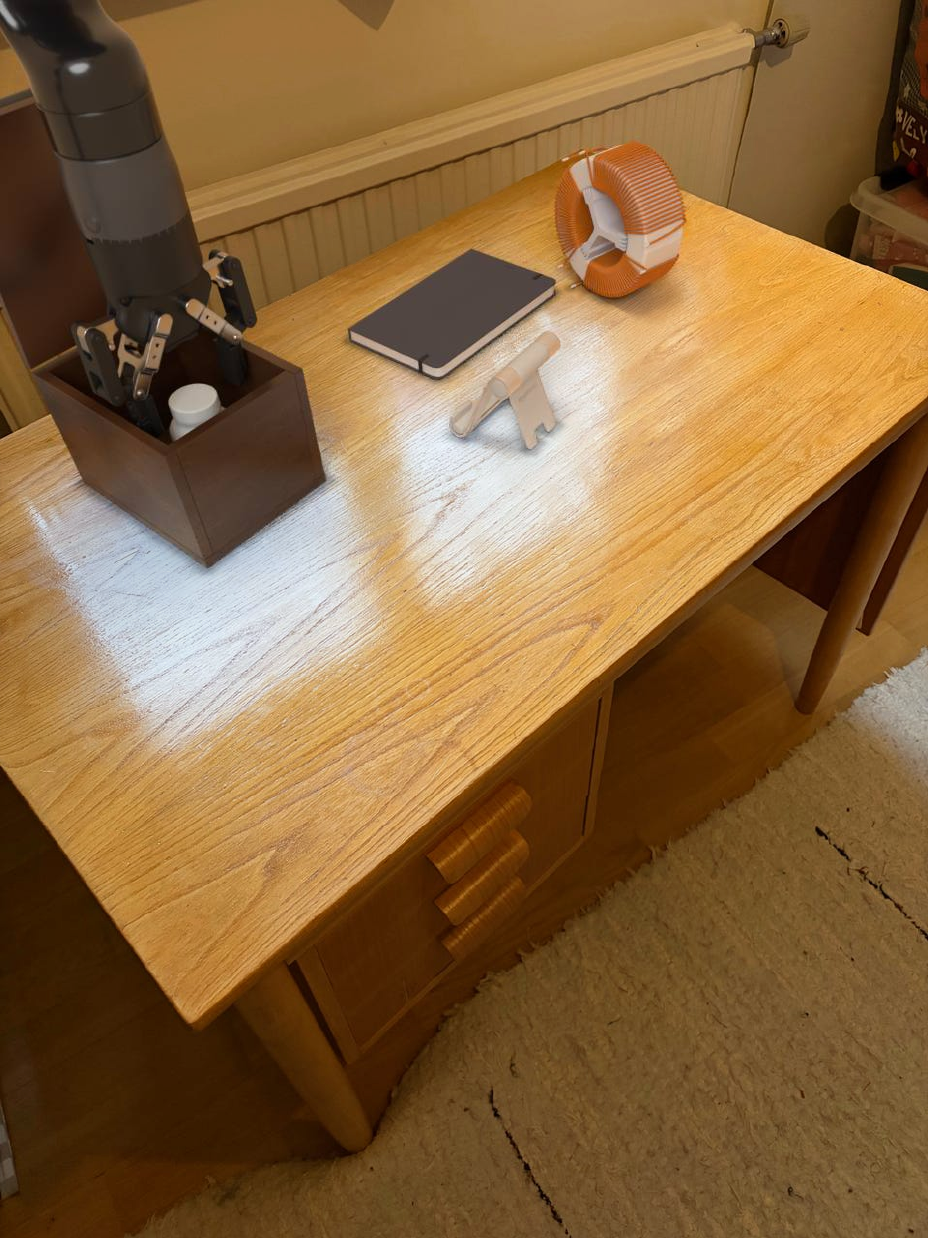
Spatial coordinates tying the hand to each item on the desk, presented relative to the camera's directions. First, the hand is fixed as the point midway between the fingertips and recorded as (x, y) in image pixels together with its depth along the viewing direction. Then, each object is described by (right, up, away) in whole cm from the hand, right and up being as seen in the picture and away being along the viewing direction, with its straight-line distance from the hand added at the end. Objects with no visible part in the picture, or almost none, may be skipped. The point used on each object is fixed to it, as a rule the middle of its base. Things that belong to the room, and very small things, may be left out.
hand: (195, 406), depth 72 cm
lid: (-8, +12, -5) cm, 15 cm away
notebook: (+21, +16, +26) cm, 37 cm away
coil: (+39, +20, +28) cm, 52 cm away
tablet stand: (+26, +1, +13) cm, 29 cm away
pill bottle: (0, -6, +7) cm, 9 cm away
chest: (-2, -5, +9) cm, 10 cm away
